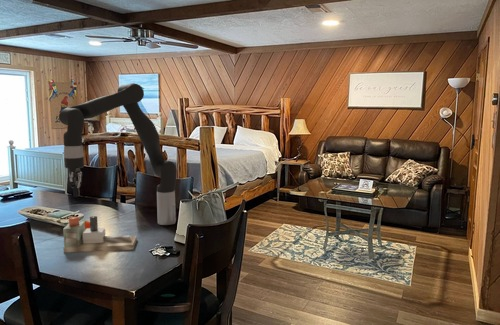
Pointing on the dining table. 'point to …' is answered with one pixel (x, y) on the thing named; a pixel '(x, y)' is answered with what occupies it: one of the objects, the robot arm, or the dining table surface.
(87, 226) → the clementine
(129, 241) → the rail base
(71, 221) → the button
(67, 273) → the dining table surface
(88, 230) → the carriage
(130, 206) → the dining table surface
